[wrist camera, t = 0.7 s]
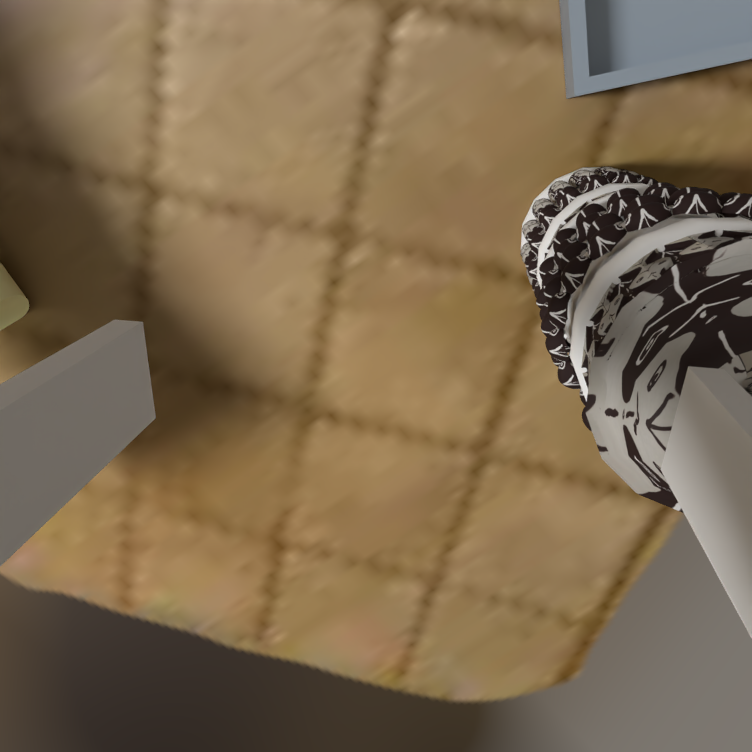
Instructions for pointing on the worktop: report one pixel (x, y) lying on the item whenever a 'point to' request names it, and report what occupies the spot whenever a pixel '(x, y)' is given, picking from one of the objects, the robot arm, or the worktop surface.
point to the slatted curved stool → (10, 300)
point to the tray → (649, 40)
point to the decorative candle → (639, 303)
